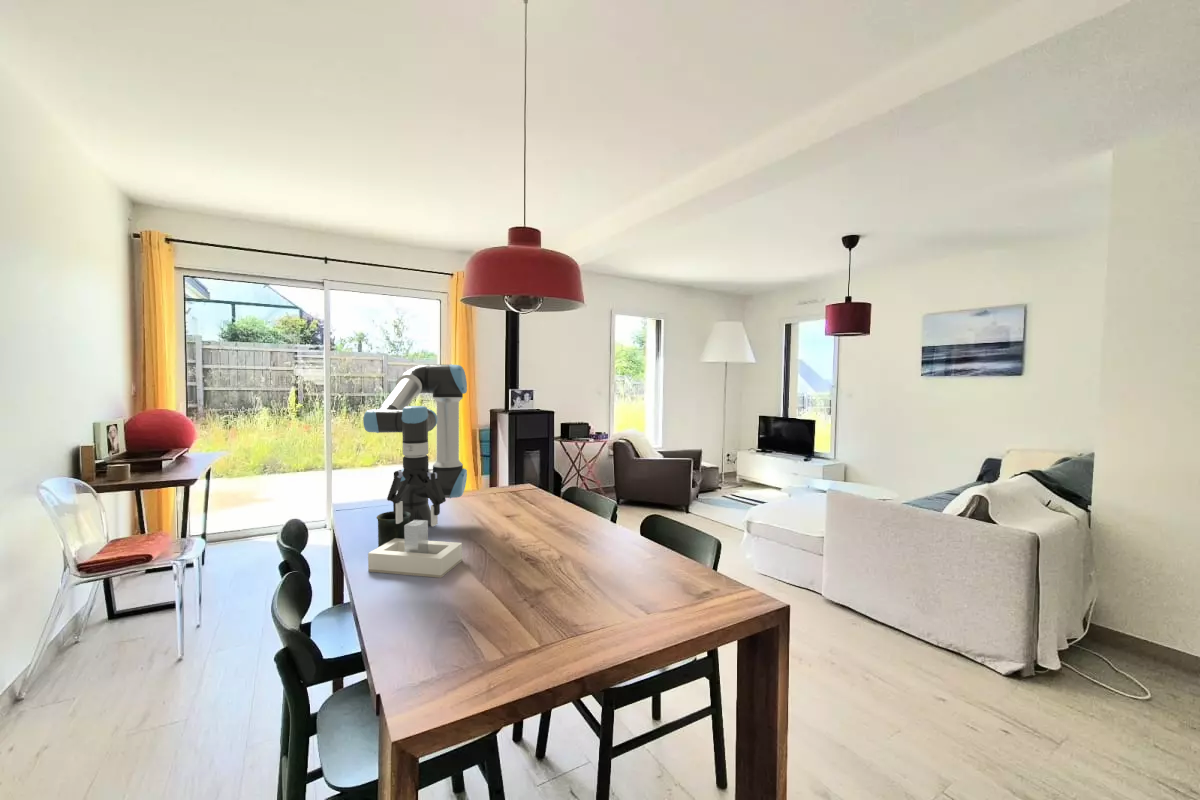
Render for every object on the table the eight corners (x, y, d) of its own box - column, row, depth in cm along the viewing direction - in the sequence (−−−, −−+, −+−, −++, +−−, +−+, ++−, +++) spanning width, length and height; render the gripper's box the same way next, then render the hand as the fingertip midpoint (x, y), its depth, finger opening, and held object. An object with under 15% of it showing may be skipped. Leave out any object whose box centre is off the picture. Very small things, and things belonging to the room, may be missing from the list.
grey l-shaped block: (415, 559, 158) (414, 519, 157) (442, 561, 156) (442, 521, 156) (404, 566, 152) (404, 525, 152) (433, 568, 150) (432, 527, 150)
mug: (386, 557, 162) (385, 521, 161) (367, 547, 171) (366, 513, 171) (417, 549, 170) (416, 515, 169) (397, 539, 179) (396, 507, 179)
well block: (395, 555, 164) (394, 538, 163) (462, 560, 160) (462, 543, 159) (368, 571, 150) (368, 553, 150) (441, 577, 146) (440, 558, 145)
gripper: (373, 456, 151) (375, 525, 153) (445, 459, 147) (445, 530, 149) (388, 451, 159) (389, 517, 160) (456, 454, 155) (457, 522, 156)
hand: (416, 523), depth 155 cm, fingers open, 11 cm apart
